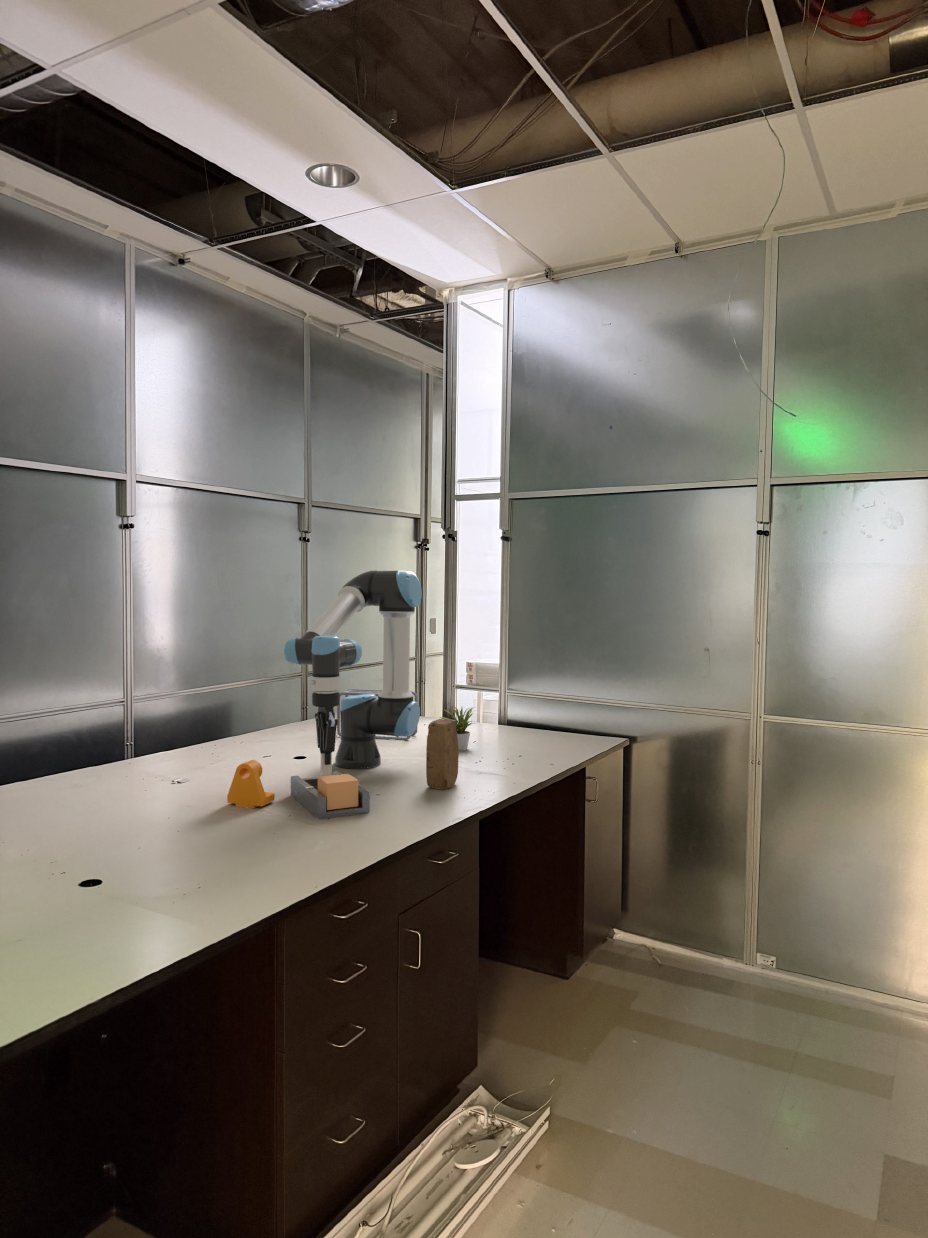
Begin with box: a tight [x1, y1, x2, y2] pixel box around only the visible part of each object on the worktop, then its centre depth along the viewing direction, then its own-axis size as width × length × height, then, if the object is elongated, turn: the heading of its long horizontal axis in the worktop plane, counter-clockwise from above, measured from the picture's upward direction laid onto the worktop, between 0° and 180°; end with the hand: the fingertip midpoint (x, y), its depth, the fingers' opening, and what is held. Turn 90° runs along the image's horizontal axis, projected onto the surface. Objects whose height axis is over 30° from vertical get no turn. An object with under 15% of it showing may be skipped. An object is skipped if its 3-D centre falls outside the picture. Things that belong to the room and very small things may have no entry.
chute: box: [290, 771, 371, 820], centre depth 226 cm, size 26×14×6 cm, turn 28°
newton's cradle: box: [336, 688, 419, 741], centre depth 323 cm, size 30×10×18 cm, turn 78°
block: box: [425, 718, 459, 790], centre depth 246 cm, size 11×8×20 cm
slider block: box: [317, 773, 359, 810], centre depth 219 cm, size 8×9×7 cm
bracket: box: [226, 759, 276, 809], centre depth 225 cm, size 11×7×12 cm, turn 73°
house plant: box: [439, 706, 477, 752], centre depth 301 cm, size 14×14×16 cm
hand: (326, 775), depth 229 cm, fingers closed
